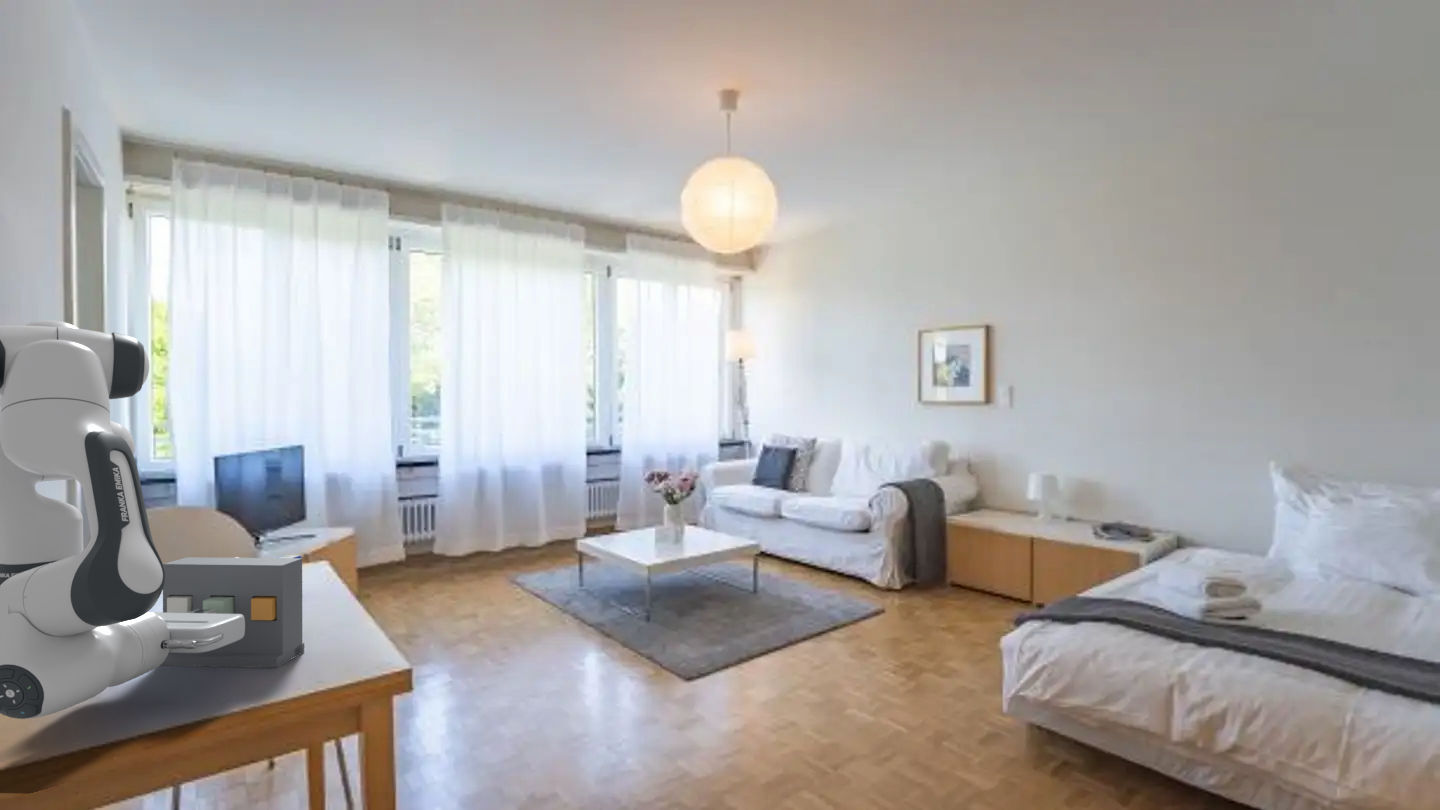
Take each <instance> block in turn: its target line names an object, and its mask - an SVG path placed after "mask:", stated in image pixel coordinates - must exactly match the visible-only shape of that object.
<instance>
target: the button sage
mask: <svg viewBox="0 0 1440 810" xmlns="http://www.w3.org/2000/svg"><path fill="white" fill-rule="evenodd" d="M203 609H215V610H216V611H217V614H235V596H214V597H212V598H209V599H206V600H203Z"/></svg>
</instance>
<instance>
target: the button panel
mask: <svg viewBox="0 0 1440 810" xmlns="http://www.w3.org/2000/svg"><path fill="white" fill-rule="evenodd" d="M163 566H164V570H165V583H164V587H163V590H162V612H163V613H167V598H168V597H171V596H174V595H193V611H194V610H196V609H203V600H206V599H209V598H212V597H214V596H235V614H242V615H243V616H244V619H245V634H244V637H243V638H242V639H240V640H238V641H236V642H233V643H231V644H228V645H226V646H223V647H220V648H218V649H215V650H211V651H208V652H202V653H168V656H167V657H166V659H165V660H164V662H163V663H162V664H161V665H160V666H159V667H165V666H166V667H217V668H219V667H221V668H223V667H224V668H225V667H226V668H227V667H228V668H231V667H232V668H233V667H234V668H274V667H277V668H278V667H280V666H282V665H284V664H286V663H287V662H289V661H291V660H292V659H294V658H296V657H298V656H300V655H301V654H302V652H303V653H304V652H305V642H303V558H302V557H301V558H278V557H239V558H235V557H205V556H204V557H203V556H201V557H199V556H196V557H195V556H193V557H192V556H191V557H190V556H189V557H188V556H187V557H183V558H179V559H176V560H173V561H169V562H166V563H163ZM257 596H277V618H276V619H274V620H251V599H252V598H255V597H257ZM300 653H301V654H300ZM297 655H298V656H297ZM295 656H296V657H295ZM293 657H294V658H293ZM291 658H292V659H291ZM290 659H291V660H290ZM288 660H289V661H288ZM286 661H287V662H286ZM283 663H284V664H283ZM281 664H282V665H281ZM279 665H280V666H279Z"/></svg>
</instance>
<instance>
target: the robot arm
mask: <svg viewBox="0 0 1440 810" xmlns="http://www.w3.org/2000/svg"><path fill="white" fill-rule="evenodd" d="M144 347H145V346H144V344H142V342H140V341H139V340H138V339H137V338H136V337H134V336H131V335H126V334H122V333H119V332H114V331H113V332H111V333H106V332H103V331H98V330H97V331H96V330H90V329H85V328H84V329H83V328H79V327H78V326H76V325H74V324H71V323H69V322H65V321H61V320H57V319H43V320H42V319H40V320H36V321H31V322H29V323H25V324H23V325H13V324H11V325H0V714H1V715H3V716H5V717H8V718H13V719H20V720H25V719H26V720H28V719H29V720H30V719H37V718H41V717H45V716H49V715H53V714H55V713H58V712H61V711H64V710H66V709H69V708H72V707H74V706H77V705H79V704H82V703H83V702H86V701H87V700H90V699H93V698H94V697H96V696H98V695H99V694H101V693H102V692H104V691H105V690H107V688H111V687H113V688H114V687H117V686H121V685H123V684H125V683H127V682H130V681H131V680H134V679H136V678H138V677H141V676H143V675H145V674H147V673H149V672H151V671H154V670H156V669H157V668H159V667H161V666H160V665H161V664H162V663H163V662H164V660H165V659H166V657H167V656H168V653H202V652H208V651H211V650H215V649H218V648H220V647H223V646H226V645H228V644H231V643H233V642H236V641H238V640H240V639H242V638H243V637H244V634H245V619H244V616H243V615H242V614H217V611H216V610H215V609H196V610H194V611H191V612H185V613H163V611H162V612H161V611H160V612H158V611H157V612H155V611H154V612H151V610H152V608H153V607H154V606H155V605H156V603H157V602H158V600H159V598H160V597H161V595H162V593H163V587H164V583H165V570H164V566H163V564H164V563H163V562H162V558H161V557H160V555H159V552H158V551H157V548H156V546H155V543H154V541H153V537H152V532H151V528H150V524H149V518H148V514H147V509H146V505H145V499H144V494H143V489H142V483H141V479H140V475H139V470H138V466H137V463H136V458H135V457H134V454H135V450H136V449H135V447H136V445H135V441H134V438H133V436H132V434H131V433H130V431H129V430H128V429H127V428H126V427H125V426H124V425H122V424H121V423H118V422H115V421H113V420H111V410H110V409H111V407H110V400H116V399H124V398H130V397H133V396H135V395H136V394H138V393H139V392H140V391H141V390H142V388H143V385H144V384H145V382H146V381H147V378H148V375H149V372H150V360H149V356H148V354H147V352H146V350H145V348H144ZM65 480H66V481H67V480H76V481H77V482H78V483H79V484H80V486H81V488H82V492H83V497H84V503H85V508H86V509H85V510H86V515H87V521H88V525H89V526H88V527H89V532H90V540H89V542H88V544H87V546H86V547H85V548H84V517H83V514H82V512H81V511H80V509H78V507H76V506H75V505H72V504H71V503H68V502H65V501H63V500H58V499H55V498H52V497H51V498H50V497H48V496H44V495H42V494H40V493H39V492H38V491H37V490H36V484H37V483H42V482H50V481H51V482H52V481H65Z"/></svg>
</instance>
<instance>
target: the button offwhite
mask: <svg viewBox="0 0 1440 810" xmlns="http://www.w3.org/2000/svg"><path fill="white" fill-rule="evenodd" d="M191 611H193V595H174V596H171V597H168V598H167V613H185V612H191Z"/></svg>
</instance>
